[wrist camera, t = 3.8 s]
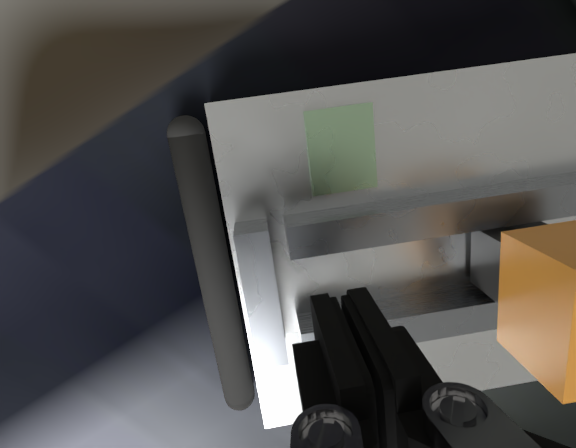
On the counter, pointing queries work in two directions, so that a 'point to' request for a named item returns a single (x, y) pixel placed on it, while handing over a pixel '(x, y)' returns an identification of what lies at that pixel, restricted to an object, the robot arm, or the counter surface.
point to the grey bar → (211, 257)
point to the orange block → (533, 297)
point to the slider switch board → (390, 206)
